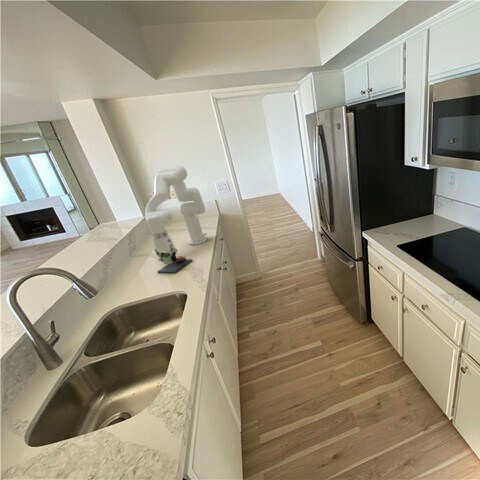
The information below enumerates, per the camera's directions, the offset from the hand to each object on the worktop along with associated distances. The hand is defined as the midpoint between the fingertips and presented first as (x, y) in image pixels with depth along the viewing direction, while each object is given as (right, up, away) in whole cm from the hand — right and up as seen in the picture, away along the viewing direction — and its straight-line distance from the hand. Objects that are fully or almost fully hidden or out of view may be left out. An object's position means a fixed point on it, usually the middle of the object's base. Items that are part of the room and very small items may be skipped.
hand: (169, 260), depth 166 cm
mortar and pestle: (-13, +1, +21) cm, 25 cm away
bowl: (0, -1, 0) cm, 1 cm away
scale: (+1, -4, +5) cm, 7 cm away
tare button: (+2, 0, +9) cm, 9 cm away
